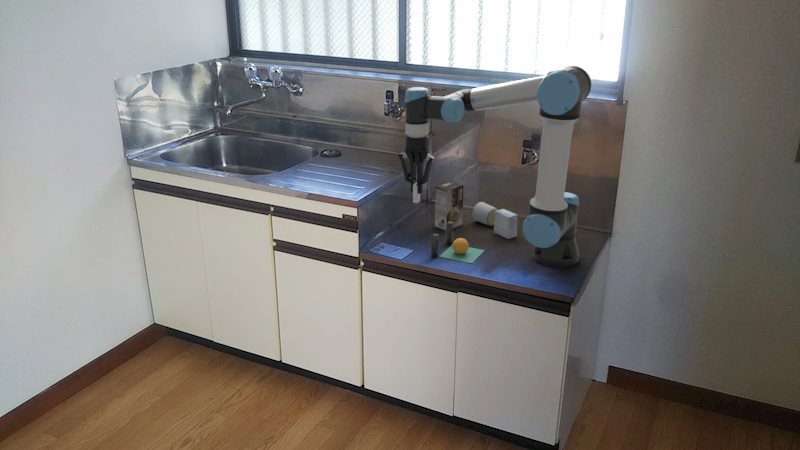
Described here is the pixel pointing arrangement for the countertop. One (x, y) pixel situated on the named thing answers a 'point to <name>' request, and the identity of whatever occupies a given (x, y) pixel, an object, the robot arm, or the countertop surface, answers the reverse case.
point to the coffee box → (448, 204)
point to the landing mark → (466, 257)
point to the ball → (460, 246)
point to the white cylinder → (484, 213)
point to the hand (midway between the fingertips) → (416, 201)
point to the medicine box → (505, 223)
